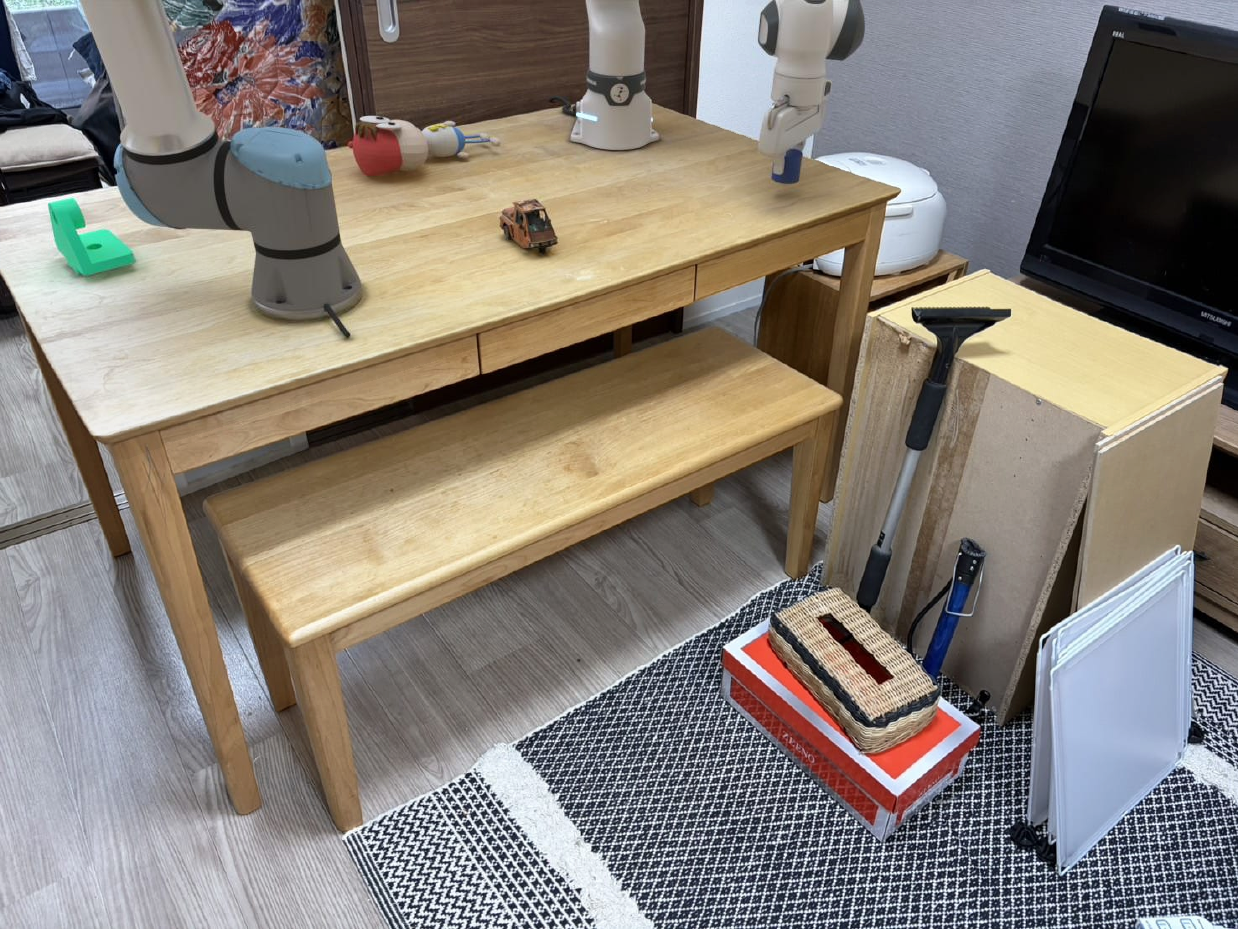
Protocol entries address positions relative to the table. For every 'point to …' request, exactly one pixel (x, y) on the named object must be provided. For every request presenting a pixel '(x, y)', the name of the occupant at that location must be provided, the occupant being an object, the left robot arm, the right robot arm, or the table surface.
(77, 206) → the camera mount
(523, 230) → the toy car
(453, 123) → the toy
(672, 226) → the table surface
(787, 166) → the canister
